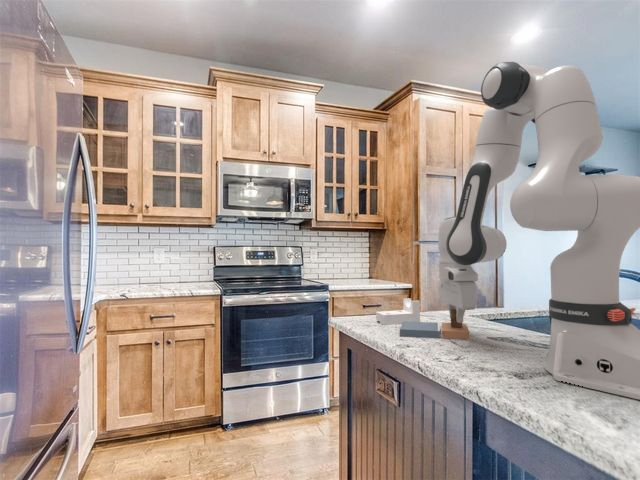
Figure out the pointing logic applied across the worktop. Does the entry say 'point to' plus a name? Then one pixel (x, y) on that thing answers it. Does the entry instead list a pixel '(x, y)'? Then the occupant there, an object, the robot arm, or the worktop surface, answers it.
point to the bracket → (401, 313)
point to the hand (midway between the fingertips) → (456, 320)
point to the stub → (455, 328)
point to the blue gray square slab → (420, 329)
